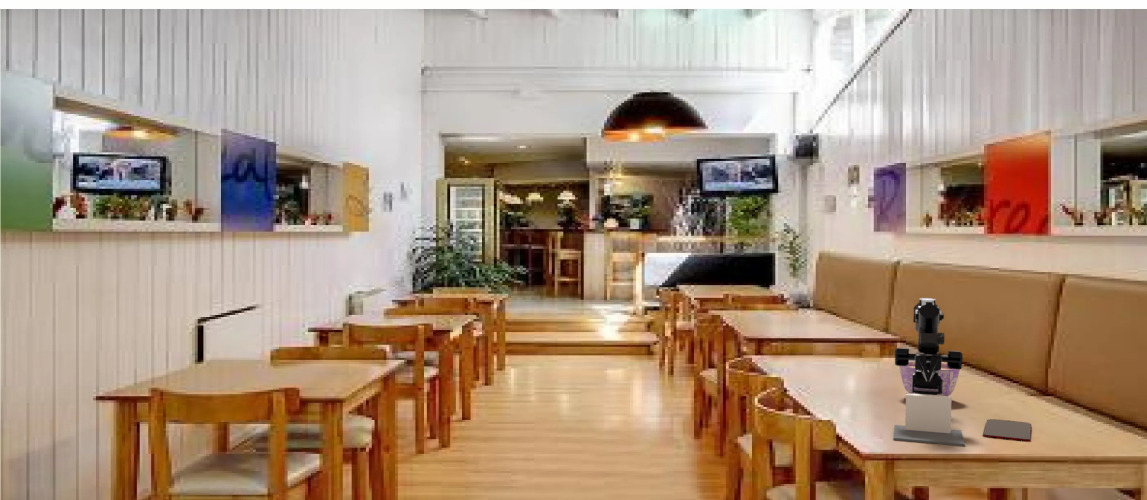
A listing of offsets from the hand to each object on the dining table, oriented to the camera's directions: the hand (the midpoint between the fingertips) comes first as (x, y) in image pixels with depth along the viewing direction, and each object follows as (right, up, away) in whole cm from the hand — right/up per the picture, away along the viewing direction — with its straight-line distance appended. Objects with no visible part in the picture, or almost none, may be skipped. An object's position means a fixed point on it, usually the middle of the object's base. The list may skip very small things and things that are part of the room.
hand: (928, 381), depth 266 cm
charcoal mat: (-5, -14, -12) cm, 19 cm away
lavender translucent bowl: (+19, -13, +49) cm, 55 cm away
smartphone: (+22, -15, -4) cm, 26 cm away
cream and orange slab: (-3, -13, -7) cm, 15 cm away
